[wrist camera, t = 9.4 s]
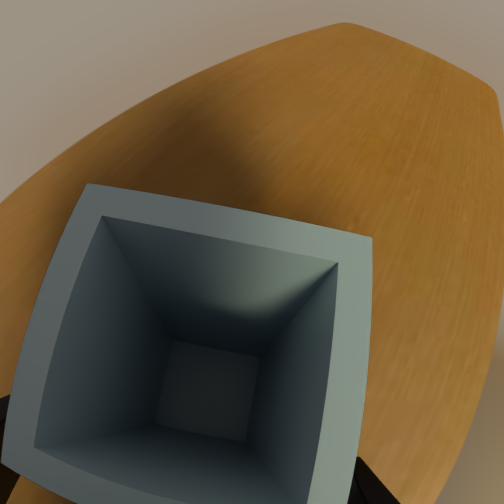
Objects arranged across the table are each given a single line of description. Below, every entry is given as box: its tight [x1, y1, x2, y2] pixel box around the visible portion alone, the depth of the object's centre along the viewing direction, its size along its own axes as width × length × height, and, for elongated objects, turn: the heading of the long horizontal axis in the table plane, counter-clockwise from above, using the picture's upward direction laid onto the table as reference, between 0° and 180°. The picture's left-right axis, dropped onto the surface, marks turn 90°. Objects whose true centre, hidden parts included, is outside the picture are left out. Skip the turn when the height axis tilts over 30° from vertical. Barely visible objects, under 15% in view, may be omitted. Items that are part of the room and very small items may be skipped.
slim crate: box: [1, 183, 372, 504], centre depth 10 cm, size 6×6×12 cm
